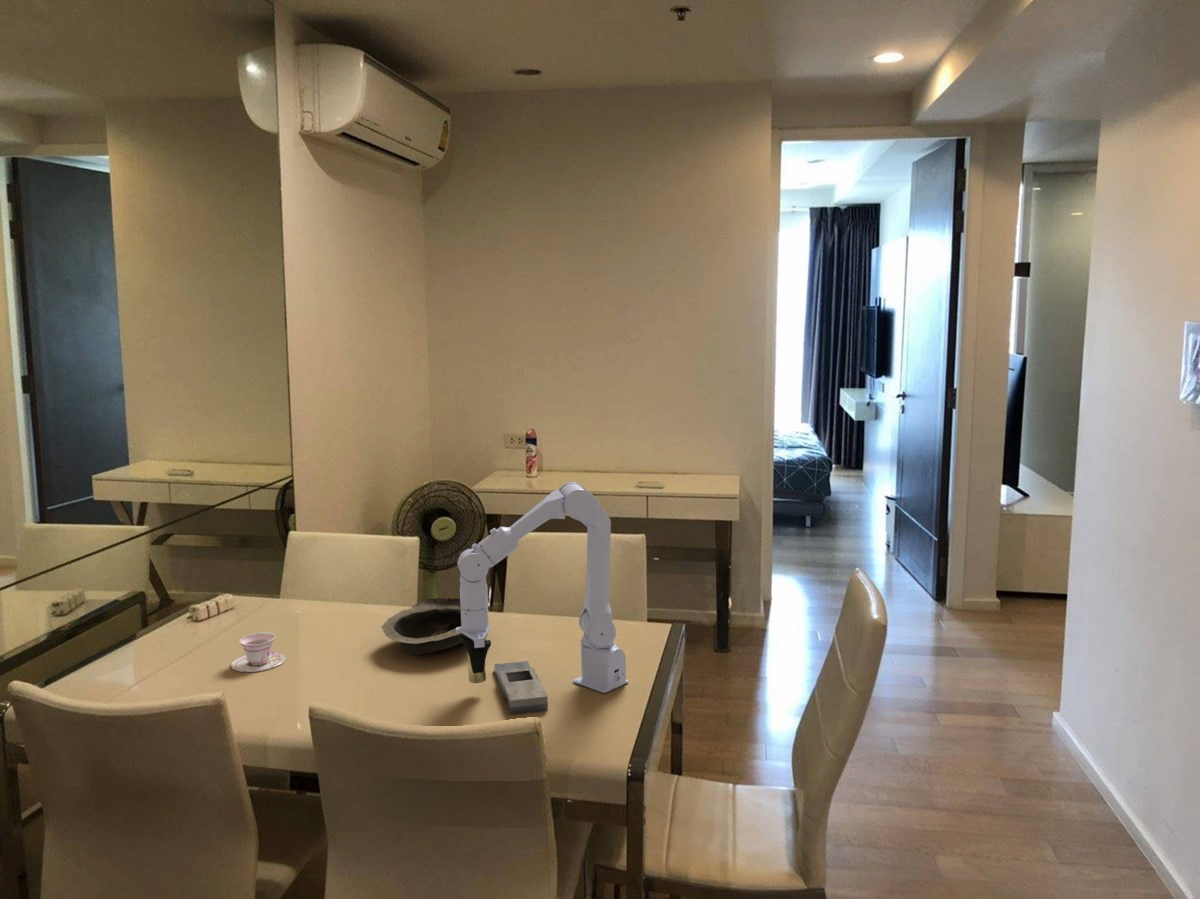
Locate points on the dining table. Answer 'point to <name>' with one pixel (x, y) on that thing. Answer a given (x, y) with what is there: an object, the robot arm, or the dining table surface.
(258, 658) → the teacup
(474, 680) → the pin
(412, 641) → the stone bowl
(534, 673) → the gray slotted block
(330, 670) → the dining table surface
